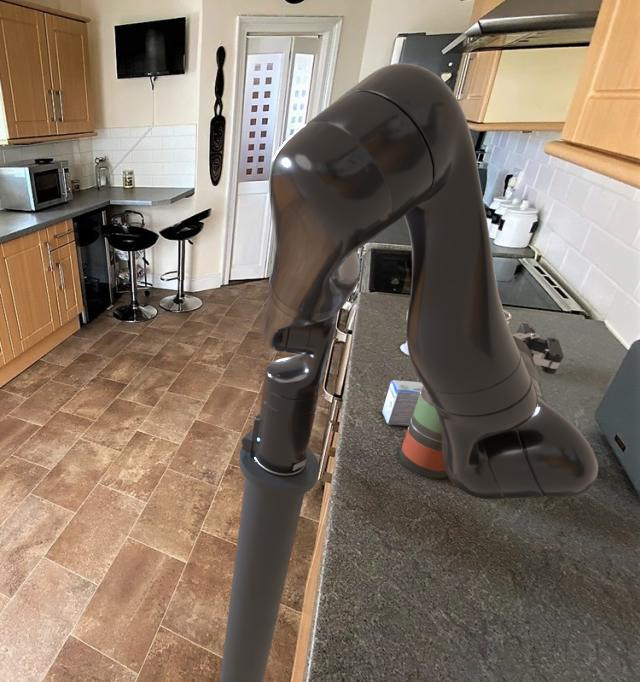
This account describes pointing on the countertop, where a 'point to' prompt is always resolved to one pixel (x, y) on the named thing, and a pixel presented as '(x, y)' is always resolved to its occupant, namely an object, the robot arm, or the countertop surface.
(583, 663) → the countertop surface
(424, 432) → the tin stack
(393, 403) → the medicine box
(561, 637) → the countertop surface
